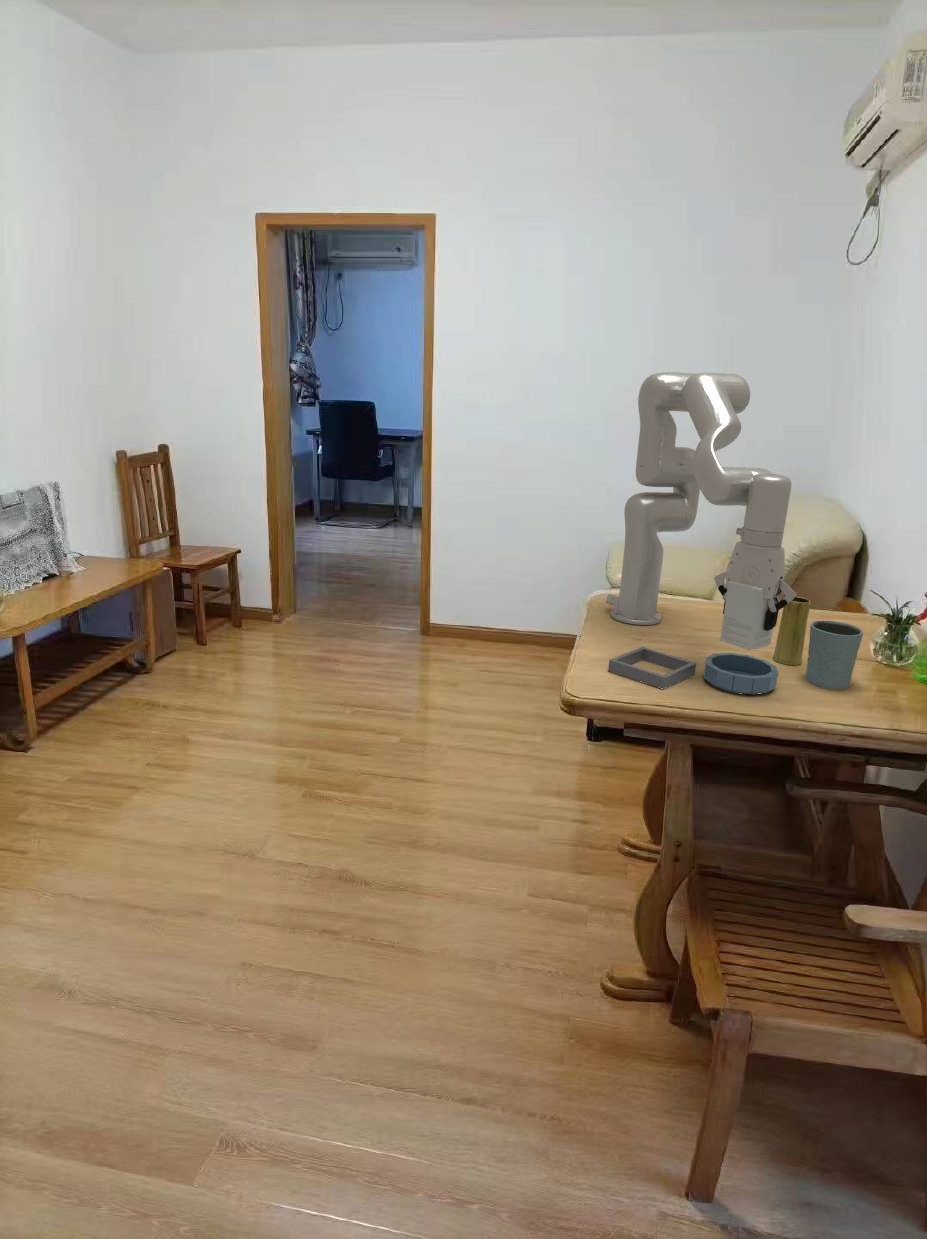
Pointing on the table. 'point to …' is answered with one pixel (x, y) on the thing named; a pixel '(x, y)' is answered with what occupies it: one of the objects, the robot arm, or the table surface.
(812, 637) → the blue-grey cup
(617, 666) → the gray square frame
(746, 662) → the bowl
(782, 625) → the vase
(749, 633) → the supplement box
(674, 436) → the robot arm
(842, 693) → the table surface
